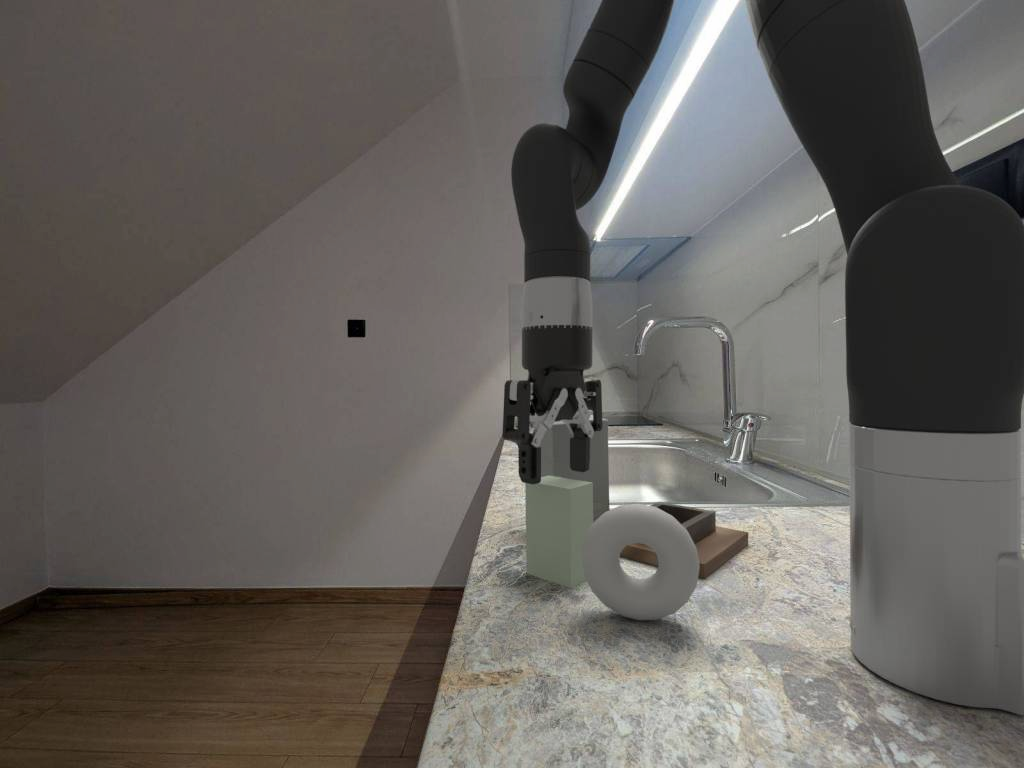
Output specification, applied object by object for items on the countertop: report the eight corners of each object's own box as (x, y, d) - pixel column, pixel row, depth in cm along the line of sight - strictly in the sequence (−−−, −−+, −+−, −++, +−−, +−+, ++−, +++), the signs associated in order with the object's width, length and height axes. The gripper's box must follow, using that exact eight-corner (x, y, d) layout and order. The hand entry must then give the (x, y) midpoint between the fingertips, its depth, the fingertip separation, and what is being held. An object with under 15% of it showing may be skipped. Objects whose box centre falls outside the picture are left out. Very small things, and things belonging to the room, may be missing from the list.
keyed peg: (593, 576, 52) (592, 482, 52) (571, 588, 49) (570, 489, 49) (549, 562, 56) (548, 475, 56) (526, 573, 53) (525, 481, 53)
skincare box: (591, 521, 72) (590, 413, 72) (613, 536, 65) (612, 417, 65) (536, 526, 70) (535, 415, 70) (553, 542, 63) (552, 419, 63)
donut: (698, 615, 43) (697, 502, 43) (702, 635, 40) (701, 512, 40) (584, 603, 46) (583, 496, 46) (579, 620, 42) (578, 505, 42)
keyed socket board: (748, 544, 61) (748, 512, 61) (704, 578, 51) (704, 540, 51) (645, 522, 71) (645, 495, 71) (591, 548, 60) (590, 516, 60)
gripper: (541, 317, 44) (541, 494, 45) (622, 327, 55) (621, 471, 55) (484, 322, 50) (484, 482, 50) (568, 331, 60) (567, 463, 60)
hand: (556, 476), depth 53 cm, fingers open, 8 cm apart
